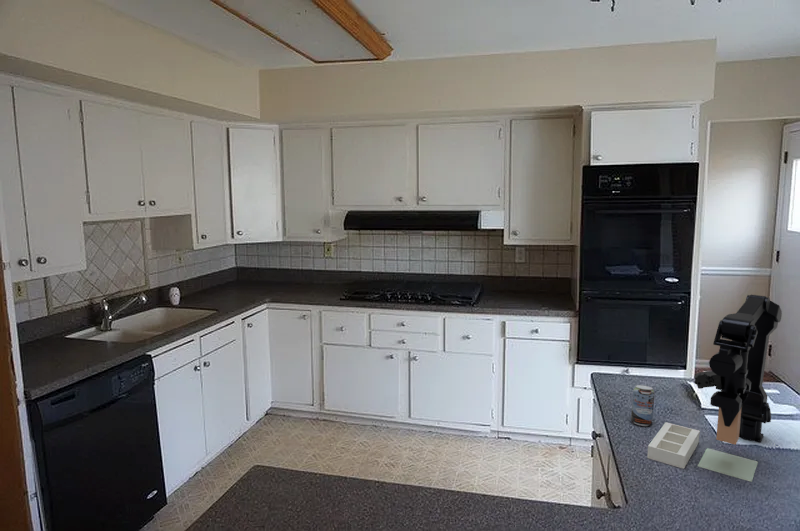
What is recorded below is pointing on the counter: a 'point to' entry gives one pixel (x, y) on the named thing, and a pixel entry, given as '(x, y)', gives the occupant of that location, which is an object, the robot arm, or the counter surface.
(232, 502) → the counter surface
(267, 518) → the counter surface
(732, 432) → the tan rectangular block
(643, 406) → the beverage can
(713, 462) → the mat
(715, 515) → the counter surface
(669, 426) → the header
